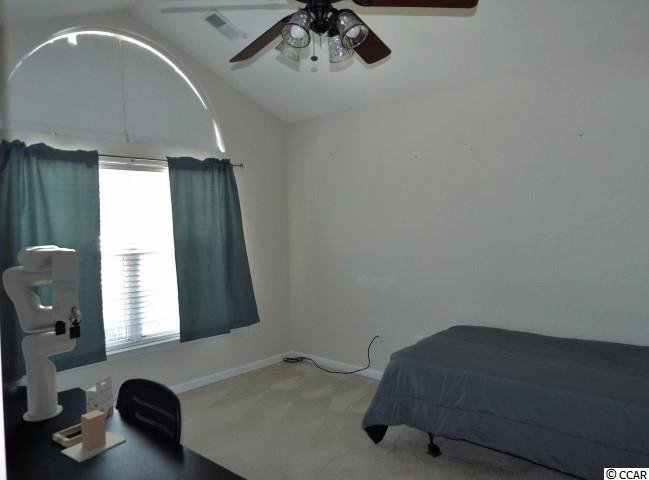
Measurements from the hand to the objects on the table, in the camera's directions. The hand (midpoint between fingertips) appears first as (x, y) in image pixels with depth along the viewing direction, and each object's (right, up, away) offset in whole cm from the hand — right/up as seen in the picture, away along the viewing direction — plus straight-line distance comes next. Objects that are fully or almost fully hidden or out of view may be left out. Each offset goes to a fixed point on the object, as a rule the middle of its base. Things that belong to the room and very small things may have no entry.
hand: (67, 336), depth 145 cm
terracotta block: (+12, -34, -7) cm, 36 cm away
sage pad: (+13, -34, -7) cm, 37 cm away
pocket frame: (+3, -34, 0) cm, 34 cm away
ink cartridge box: (+3, -34, +15) cm, 37 cm away
